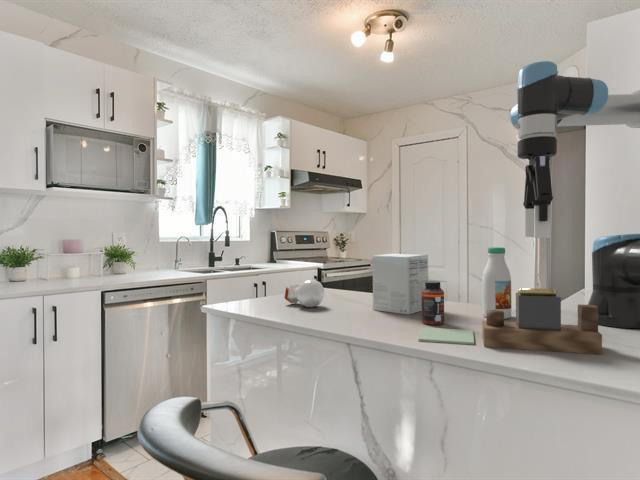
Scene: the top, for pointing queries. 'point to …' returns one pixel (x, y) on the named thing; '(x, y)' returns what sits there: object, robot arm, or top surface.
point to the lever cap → (538, 309)
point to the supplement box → (399, 282)
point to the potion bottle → (306, 293)
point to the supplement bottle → (432, 303)
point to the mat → (447, 335)
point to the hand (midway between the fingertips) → (536, 237)
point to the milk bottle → (496, 283)
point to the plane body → (545, 334)
